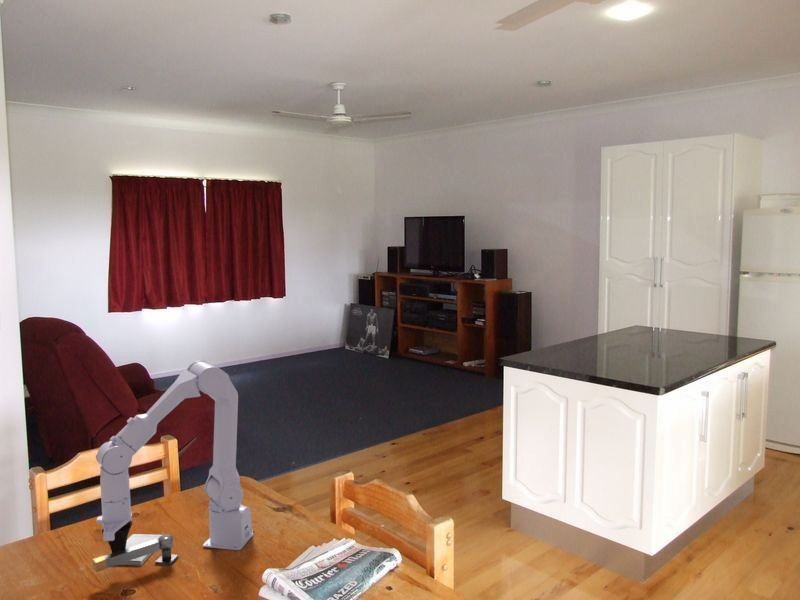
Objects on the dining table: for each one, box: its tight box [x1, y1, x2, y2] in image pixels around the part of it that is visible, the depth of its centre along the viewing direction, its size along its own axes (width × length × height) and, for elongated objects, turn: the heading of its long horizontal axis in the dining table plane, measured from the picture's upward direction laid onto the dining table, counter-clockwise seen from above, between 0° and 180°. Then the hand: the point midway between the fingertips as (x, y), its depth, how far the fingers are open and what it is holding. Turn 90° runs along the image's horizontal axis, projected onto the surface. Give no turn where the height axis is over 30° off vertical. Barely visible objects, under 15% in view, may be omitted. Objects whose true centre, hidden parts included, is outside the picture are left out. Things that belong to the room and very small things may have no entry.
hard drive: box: [117, 533, 163, 566], centre depth 151 cm, size 2×8×12 cm
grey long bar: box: [92, 534, 175, 573], centre depth 142 cm, size 17×3×2 cm, turn 132°
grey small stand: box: [154, 548, 179, 566], centre depth 146 cm, size 4×4×3 cm
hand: (118, 556), depth 141 cm, fingers closed
